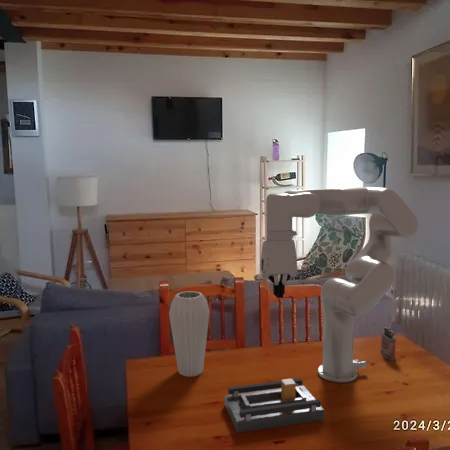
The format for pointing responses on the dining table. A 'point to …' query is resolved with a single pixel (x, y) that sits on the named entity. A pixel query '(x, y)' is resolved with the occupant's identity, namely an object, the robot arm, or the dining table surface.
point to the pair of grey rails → (275, 408)
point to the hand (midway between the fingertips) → (278, 296)
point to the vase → (189, 331)
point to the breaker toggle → (288, 389)
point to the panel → (270, 399)
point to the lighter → (388, 344)
